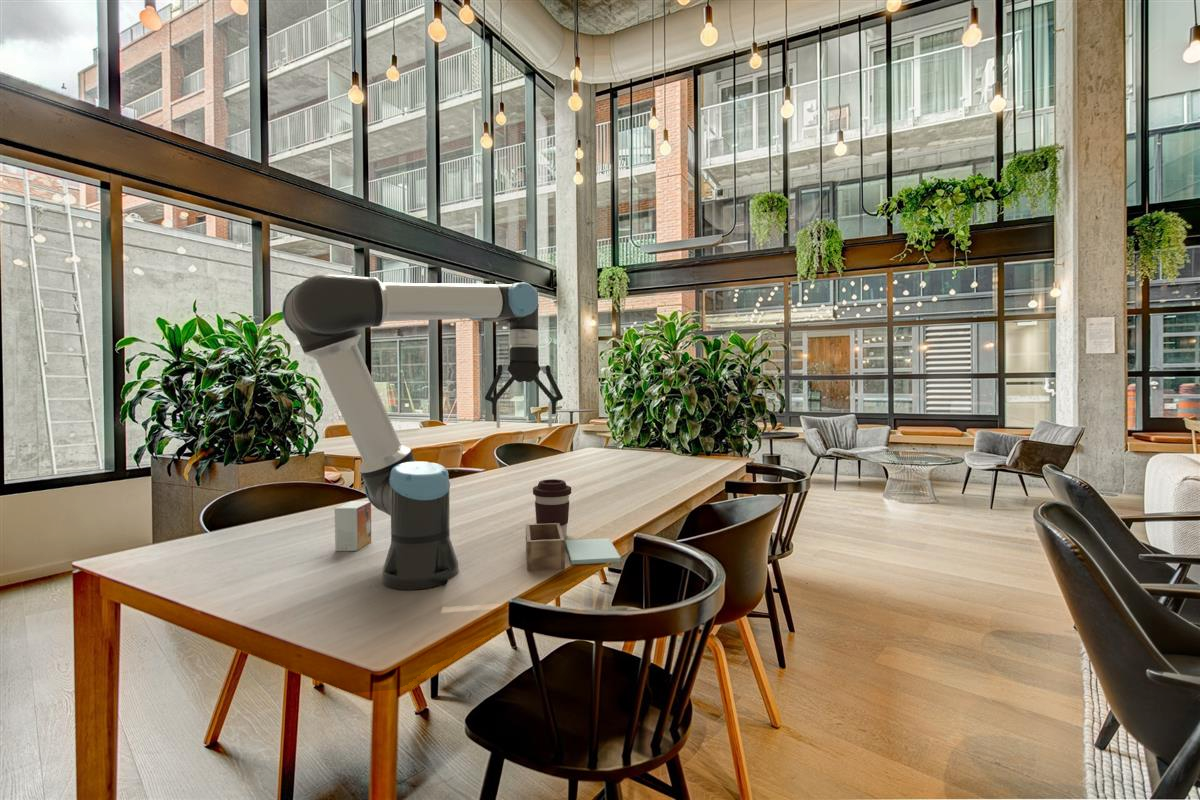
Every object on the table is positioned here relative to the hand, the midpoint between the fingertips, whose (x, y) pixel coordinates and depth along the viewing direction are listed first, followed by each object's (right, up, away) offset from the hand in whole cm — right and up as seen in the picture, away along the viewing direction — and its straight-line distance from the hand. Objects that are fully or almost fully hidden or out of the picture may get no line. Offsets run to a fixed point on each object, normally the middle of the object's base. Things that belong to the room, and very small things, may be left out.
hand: (524, 427), depth 144 cm
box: (+8, -30, -21) cm, 37 cm away
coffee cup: (+8, -29, -3) cm, 30 cm away
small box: (-41, -29, -9) cm, 51 cm away
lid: (+18, -29, -16) cm, 38 cm away
